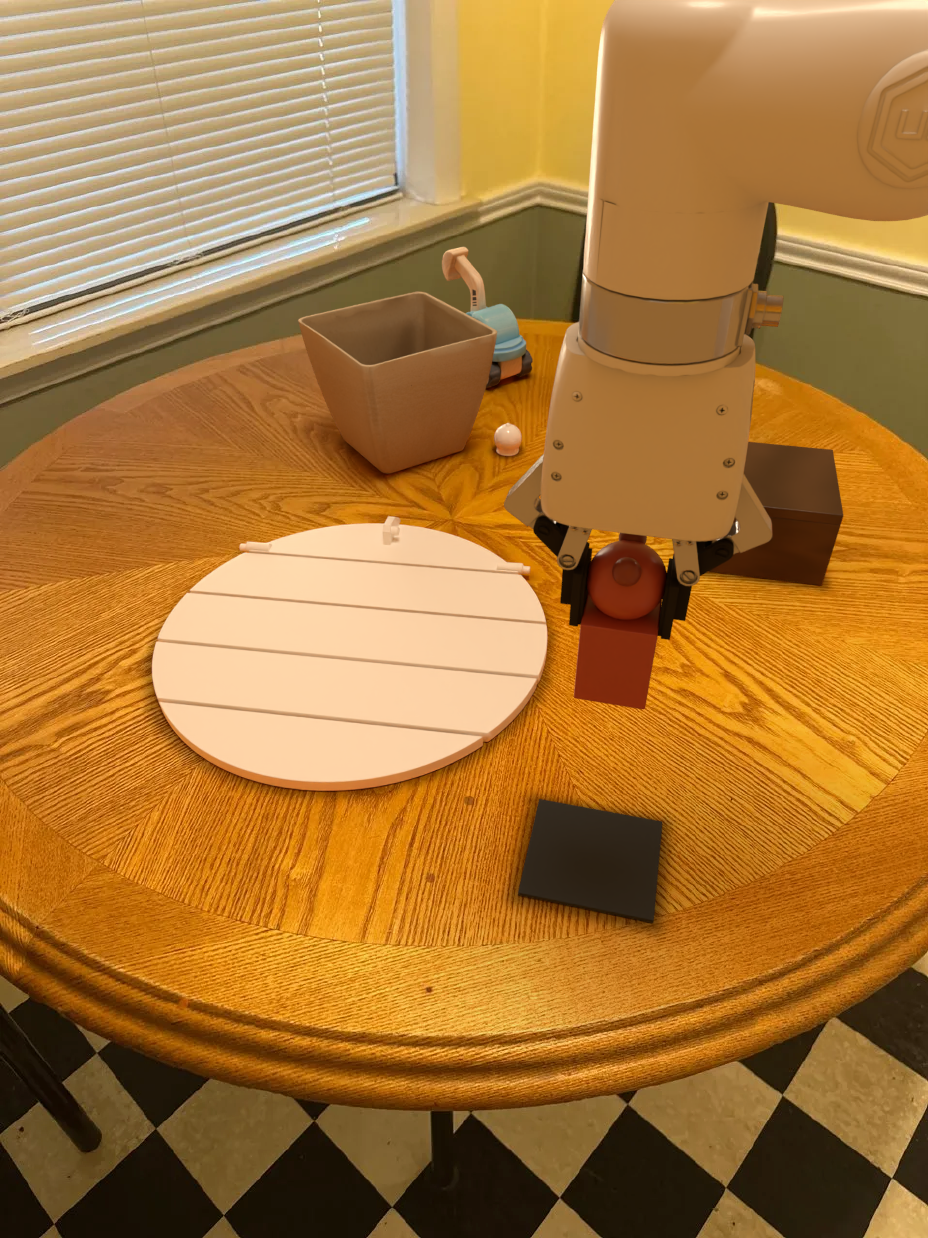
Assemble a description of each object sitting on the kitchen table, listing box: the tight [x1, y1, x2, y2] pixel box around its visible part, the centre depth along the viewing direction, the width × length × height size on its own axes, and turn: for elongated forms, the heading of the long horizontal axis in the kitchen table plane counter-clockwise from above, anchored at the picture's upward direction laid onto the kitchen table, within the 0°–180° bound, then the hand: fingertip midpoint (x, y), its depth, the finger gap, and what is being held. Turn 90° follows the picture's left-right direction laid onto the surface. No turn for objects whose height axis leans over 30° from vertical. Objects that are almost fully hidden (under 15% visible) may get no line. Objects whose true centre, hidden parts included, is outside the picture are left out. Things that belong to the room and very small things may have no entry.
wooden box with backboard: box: [707, 441, 844, 587], centre depth 95 cm, size 13×14×12 cm
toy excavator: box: [441, 246, 534, 389], centre depth 133 cm, size 9×17×17 cm, turn 34°
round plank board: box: [151, 515, 548, 792], centre depth 87 cm, size 40×39×3 cm
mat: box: [517, 798, 663, 924], centre depth 67 cm, size 10×9×1 cm
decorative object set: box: [493, 422, 523, 457], centre depth 116 cm, size 5×20×4 cm, turn 92°
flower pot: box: [297, 290, 497, 474], centre depth 114 cm, size 19×19×17 cm
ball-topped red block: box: [573, 533, 667, 710], centre depth 51 cm, size 5×5×11 cm
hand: (621, 615), depth 51 cm, fingers closed on ball-topped red block, 4 cm apart
